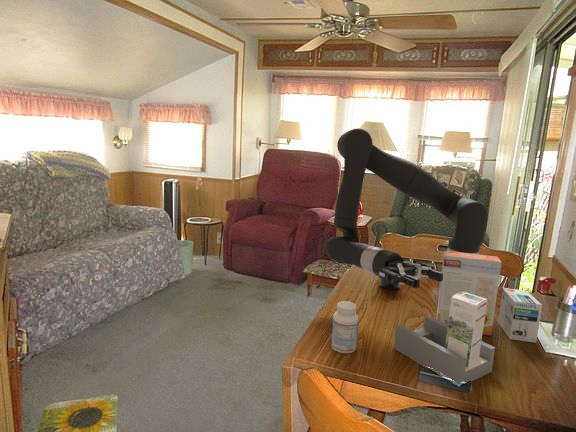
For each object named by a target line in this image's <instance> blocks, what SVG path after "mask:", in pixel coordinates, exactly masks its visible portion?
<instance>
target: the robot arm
mask: <svg viewBox="0 0 576 432" xmlns="http://www.w3.org/2000/svg"><path fill="white" fill-rule="evenodd" d="M336 147H337V150H338V153H339V155H340V156H341V157H342V158H343V161H344V163H343V164H344V165H343V173H342V174H343V175H342V180H341V184H340V187H339V190H338V194H337V196H336V197H337V198H336V203H335V209H334V210H335V211H334V218H333V225H334V227H335V228H337V229H340V230H342V231H341V232H342V236H332V237H329V239H328V240H327V241H326V242H325V244H324V251H325V253H326V256H328V258H329V259H331V260H333V261H335V262H339V263H343V264H349V265H353V266H355V267H357V268H360V269H361V270H362V269H363V270H365V271H367V272H368V273H370V274H372V275H374V276H377V277H378V278H379V280H380V279H383V280H385V281H387V282H389V283H391V284H394V285H398V283H400V285H406V286H409V287H411V288H413V289H414V288H415V289H419V288H420V282H421V280H420V279H421V278H428V279H430V280H433V281H436V282H438V283H440V282H441V281H443V273H441V272H442V271H438V270H436V269H434V267H435V266H434V265H432V264H429V263H425V262H424V261H423V262H422V261H419V260H416V259H415V260H413V262H410V261H406V260H405V261H404V259H403V257H402V255H401V254H400V253H399V254H400V255H399V254H398V252H396V253H395V251H391V250H388V249H385V248H382V247H379V246H373V245H370V244H368V243H363V242H360V237H359V229H358V218H359V210H360V203H361V196H362V195H361V194H362V189H363V184H364V178H365V173H366V170H368V171H370V172H372V173H373V174H374V175H375V176H377V177H379V178H380V179H381V180H383V181H385V182H386V183H387V184H388V185H390V186H392V187H393V188H395V189H396V190H397V191H399V192H401V193H402V194H404V195H406V196H408V197H409V198H411V199H414V200H416V201H418V202H419V203H421V204H422V203H423V204H424V205H427V206H430V207H431V208H432V209H435V210H436V211H438V213H440V214H442V215H443V216H444V217H446V219H448V220H449V221H450V222H452V224H455V225H456V228H455V232H454V236H453V237H450V238H449V240H448V243H447V250H446V251H453V252H461V253H470V254H479V255H480V249H481V247H482V245H483V242H484V240H485V235H486V231H487V230H486V229H487V224H488V218H489V213H488V209H487V207H486V205H484V203H482V202H481V201H477V200H474V199H471V198H468V197H465V196H463V195H460V194H458V193H456V192H454V191H452V190H450V189H448V188H446V187H445V186H444V185H442V184H441V183H440V181H438V180H437V179H436V178H435V176H433V175H432V174H431V173H430V172H428V171H426V170H425V169H424V168H422V167H421V166H419V165H417V164H416V163H413V162H411V161H410V160H407V159H406V158H405V159H404V158H402V157H400V156H396V155H394V154H391V153H389V152H386V151H384V150H382V149H380V148H379V147H378V146H376V145H374V143H373V138H372V136H371V133H369V131H367V130H365V129H364V128H359V127H358V128H352V129H349V130H348V131H345V132H344V133H343V134H342V135H340V137H339V138H338V140H337V145H336ZM416 272H417V273H416Z"/></svg>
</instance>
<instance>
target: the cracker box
mask: <svg viewBox="0 0 576 432" xmlns="http://www.w3.org/2000/svg"><path fill="white" fill-rule="evenodd" d="M501 269H502V261H501V259H500V258H499V256H495V255H487V254H486V255H485V254H480V253H479V254H470V253H461V252H453V251H447V250H444V251H443V256H442V265H441V271H440V272H441V273H443V281H441V282H439V292H438V300H437V308H436V317H435V319H436V320H439V321H441V322H443V323H445V324H447V325H448V320H449V312H450V304H451V298H452V296H454V295H455V294H457V293H459V292H462V291H463V292H466V293H469V294H473V295H476V296H479V297H482V298H485V299H487V307H486V314H485V320H484V326H483V333H482V336H483V335H484V336H489V337H490V336H492V332H493V326H494V319H495V318H494V317H495V312H496V305H497V304H496V303H497V297H498V289H499V284H500V277H501Z"/></svg>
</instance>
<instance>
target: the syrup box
mask: <svg viewBox="0 0 576 432" xmlns="http://www.w3.org/2000/svg"><path fill="white" fill-rule="evenodd" d="M486 307H487V299H485V298H482V297H479V296H476V295H473V294H469V293H466V292H463V291H462V292H459V293H457V294H455V295H454V296H452V298H451V304H450V312H449V320H448V328H447V336H446V344H445V348H446V349H448V350H449V351H451V352H453V353H455V354H457V355H459V356H461V357H463V358H464V359H466V360H467V361H466V366H467V367H469V366H471V365H472V364H473V363H475V362H476V361H477V360H478V359H479V355H480V346H481V341H482V339H483V334H482V333H483V326H484V320H485V314H486Z"/></svg>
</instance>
